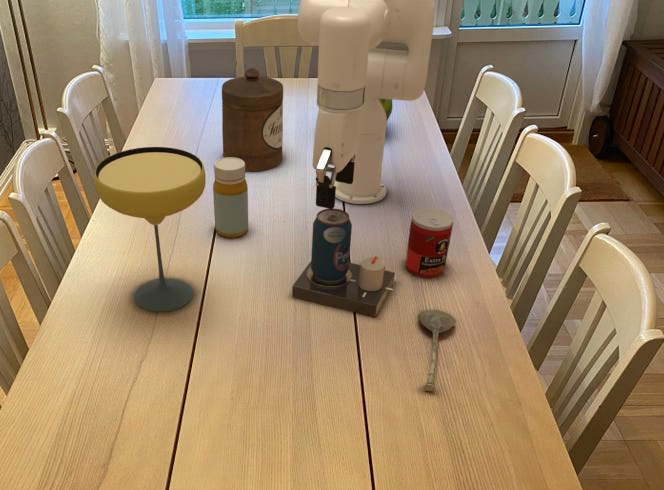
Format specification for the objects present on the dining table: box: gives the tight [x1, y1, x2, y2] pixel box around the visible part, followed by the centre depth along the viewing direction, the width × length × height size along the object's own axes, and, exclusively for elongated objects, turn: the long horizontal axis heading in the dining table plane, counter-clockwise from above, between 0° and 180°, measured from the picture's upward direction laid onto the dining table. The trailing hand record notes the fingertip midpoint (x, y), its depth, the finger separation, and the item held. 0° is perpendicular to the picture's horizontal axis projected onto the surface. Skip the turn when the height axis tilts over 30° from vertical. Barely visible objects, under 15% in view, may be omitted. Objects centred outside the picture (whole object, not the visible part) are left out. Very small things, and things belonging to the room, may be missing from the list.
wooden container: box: [221, 67, 284, 172], centre depth 173 cm, size 15×15×22 cm
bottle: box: [212, 157, 249, 239], centre depth 147 cm, size 7×7×15 cm
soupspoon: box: [417, 309, 457, 392], centre depth 120 cm, size 22×3×7 cm
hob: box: [291, 261, 396, 318], centre depth 133 cm, size 17×12×3 cm
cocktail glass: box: [93, 146, 207, 313], centre depth 125 cm, size 18×18×25 cm
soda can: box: [310, 208, 353, 282], centre depth 130 cm, size 7×7×12 cm
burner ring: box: [307, 267, 352, 288], centre depth 134 cm, size 8×8×1 cm
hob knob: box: [358, 255, 386, 291], centre depth 130 cm, size 4×4×5 cm
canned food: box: [405, 207, 454, 278], centre depth 137 cm, size 8×8×11 cm
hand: (334, 194), depth 124 cm, fingers open, 9 cm apart
